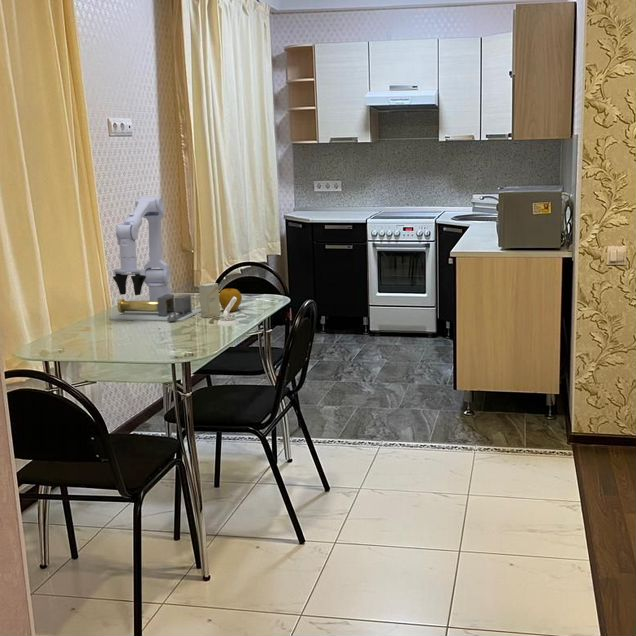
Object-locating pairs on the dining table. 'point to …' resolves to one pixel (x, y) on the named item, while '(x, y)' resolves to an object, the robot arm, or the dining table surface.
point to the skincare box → (209, 300)
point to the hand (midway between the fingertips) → (130, 294)
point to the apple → (229, 298)
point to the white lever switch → (228, 315)
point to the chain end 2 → (181, 307)
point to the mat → (148, 316)
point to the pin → (139, 306)
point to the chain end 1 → (163, 307)
